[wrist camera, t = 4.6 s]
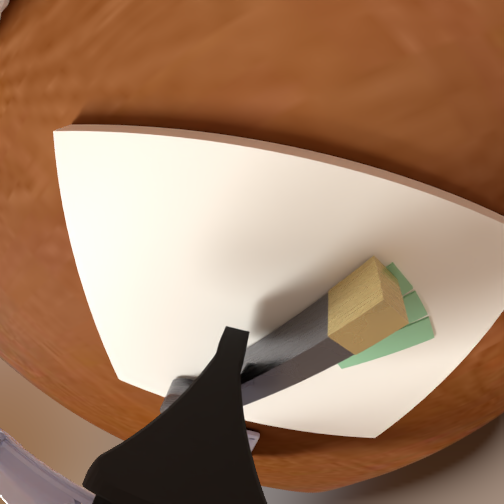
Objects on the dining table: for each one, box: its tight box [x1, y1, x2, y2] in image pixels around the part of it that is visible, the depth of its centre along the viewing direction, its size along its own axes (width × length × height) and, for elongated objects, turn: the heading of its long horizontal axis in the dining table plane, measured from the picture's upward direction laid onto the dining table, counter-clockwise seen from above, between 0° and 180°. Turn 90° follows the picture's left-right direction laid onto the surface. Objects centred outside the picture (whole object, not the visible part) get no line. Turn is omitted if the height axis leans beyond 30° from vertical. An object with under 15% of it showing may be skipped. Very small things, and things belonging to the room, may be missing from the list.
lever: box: [160, 256, 409, 413], centre depth 12 cm, size 14×3×2 cm, turn 143°
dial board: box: [53, 124, 504, 438], centre depth 13 cm, size 17×19×1 cm
